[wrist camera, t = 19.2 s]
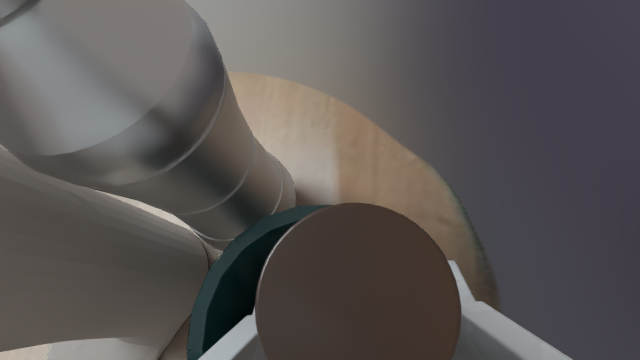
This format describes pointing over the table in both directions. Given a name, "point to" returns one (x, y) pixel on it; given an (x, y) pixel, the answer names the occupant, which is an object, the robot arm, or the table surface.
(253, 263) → the teal cup
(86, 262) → the candle
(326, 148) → the table surface
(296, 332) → the rod with orange collar
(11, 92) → the silver metal bottle
